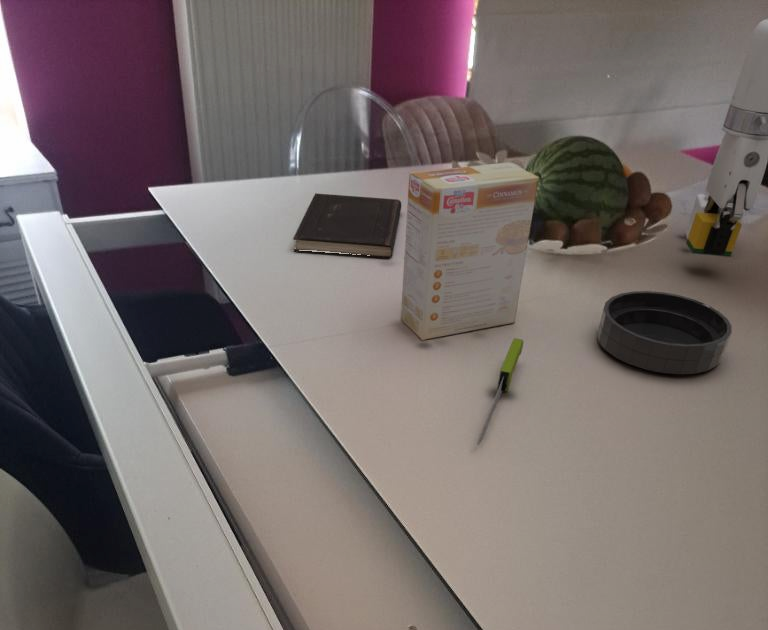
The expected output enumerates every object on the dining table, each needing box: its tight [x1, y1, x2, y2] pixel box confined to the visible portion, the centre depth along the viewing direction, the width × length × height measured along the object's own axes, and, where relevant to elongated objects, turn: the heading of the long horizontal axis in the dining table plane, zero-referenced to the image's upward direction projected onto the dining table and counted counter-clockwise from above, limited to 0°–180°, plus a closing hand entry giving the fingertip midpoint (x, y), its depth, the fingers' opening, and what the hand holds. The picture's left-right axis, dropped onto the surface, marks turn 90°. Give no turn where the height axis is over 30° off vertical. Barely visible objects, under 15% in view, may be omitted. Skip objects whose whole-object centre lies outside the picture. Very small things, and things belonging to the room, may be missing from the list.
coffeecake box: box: [400, 161, 540, 341], centre depth 97 cm, size 15×7×20 cm, turn 115°
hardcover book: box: [292, 192, 402, 260], centre depth 127 cm, size 16×23×2 cm
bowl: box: [596, 290, 733, 375], centre depth 98 cm, size 16×16×4 cm
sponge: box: [686, 212, 743, 258], centre depth 117 cm, size 6×4×5 cm
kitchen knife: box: [476, 337, 524, 446], centre depth 86 cm, size 22×1×3 cm, turn 161°
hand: (709, 246), depth 118 cm, fingers closed on sponge, 4 cm apart
